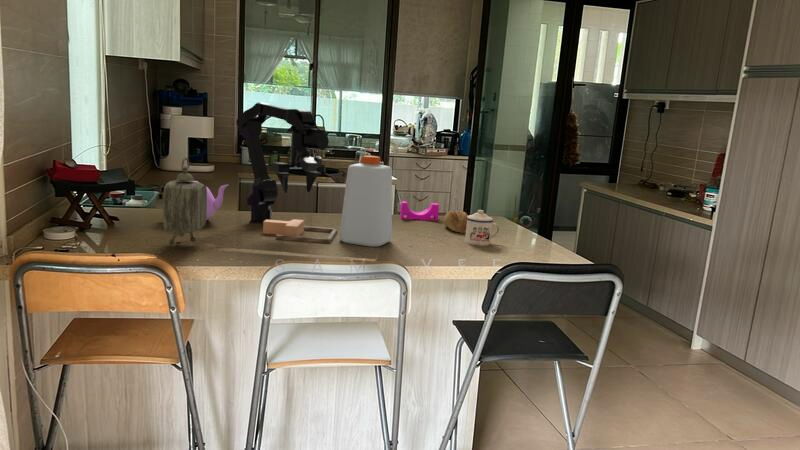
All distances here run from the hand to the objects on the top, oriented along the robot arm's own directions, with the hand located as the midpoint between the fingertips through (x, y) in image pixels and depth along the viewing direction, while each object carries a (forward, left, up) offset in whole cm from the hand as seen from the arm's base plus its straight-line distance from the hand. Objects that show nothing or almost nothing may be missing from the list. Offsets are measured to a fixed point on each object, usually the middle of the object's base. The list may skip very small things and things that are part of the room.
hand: (297, 192), depth 206 cm
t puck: (-3, -9, -13) cm, 16 cm away
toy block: (+43, +37, -13) cm, 58 cm away
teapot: (-36, +2, -13) cm, 38 cm away
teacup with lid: (+65, 0, -13) cm, 66 cm away
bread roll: (+57, +20, -13) cm, 62 cm away
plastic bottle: (+25, -11, -13) cm, 31 cm away
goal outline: (+6, -9, -13) cm, 17 cm away
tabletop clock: (-27, -31, -13) cm, 43 cm away
